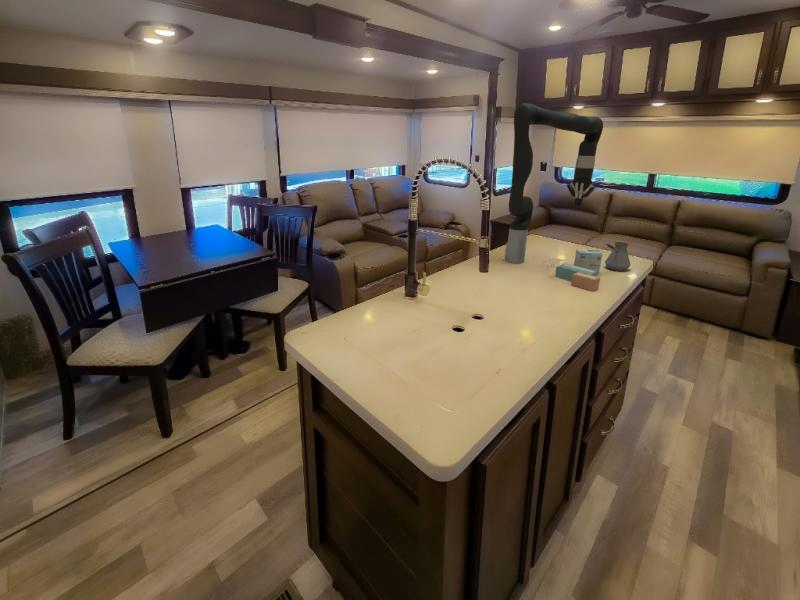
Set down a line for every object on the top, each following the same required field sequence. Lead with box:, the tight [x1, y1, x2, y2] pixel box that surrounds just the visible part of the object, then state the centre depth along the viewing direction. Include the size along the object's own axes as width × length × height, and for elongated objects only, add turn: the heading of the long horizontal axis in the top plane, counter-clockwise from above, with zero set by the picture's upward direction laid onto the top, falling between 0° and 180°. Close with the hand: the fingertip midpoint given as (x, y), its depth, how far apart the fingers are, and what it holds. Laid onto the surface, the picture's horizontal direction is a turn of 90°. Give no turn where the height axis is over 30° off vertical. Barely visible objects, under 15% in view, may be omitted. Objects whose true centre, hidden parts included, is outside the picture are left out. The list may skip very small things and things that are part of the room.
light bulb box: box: [573, 248, 603, 275], centre depth 199 cm, size 11×7×11 cm, turn 84°
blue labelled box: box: [554, 262, 599, 282], centre depth 190 cm, size 16×8×5 cm, turn 41°
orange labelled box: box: [570, 272, 601, 292], centre depth 180 cm, size 10×5×5 cm, turn 41°
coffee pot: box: [603, 241, 631, 272], centre depth 201 cm, size 21×12×15 cm, turn 127°
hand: (577, 206), depth 187 cm, fingers closed
